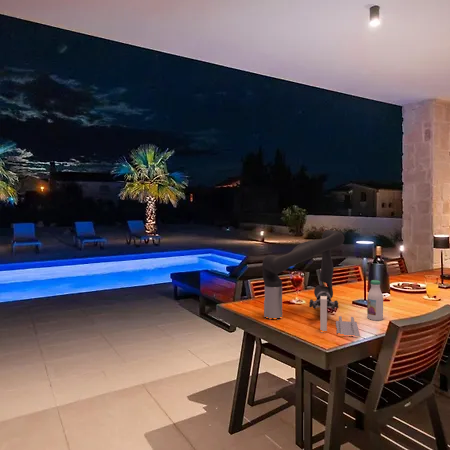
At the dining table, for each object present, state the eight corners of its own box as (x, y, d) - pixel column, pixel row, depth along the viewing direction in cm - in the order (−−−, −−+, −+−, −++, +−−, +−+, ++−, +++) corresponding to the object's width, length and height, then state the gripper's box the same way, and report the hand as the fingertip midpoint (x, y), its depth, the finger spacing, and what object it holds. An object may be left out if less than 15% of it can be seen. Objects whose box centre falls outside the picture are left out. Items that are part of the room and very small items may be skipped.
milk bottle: (379, 316, 213) (379, 279, 211) (385, 320, 205) (386, 282, 204) (364, 316, 212) (365, 279, 211) (370, 321, 205) (371, 282, 203)
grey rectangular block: (320, 332, 189) (320, 299, 188) (320, 328, 195) (320, 295, 194) (326, 332, 189) (326, 299, 187) (326, 328, 194) (326, 296, 193)
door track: (337, 336, 184) (337, 328, 183) (335, 322, 203) (335, 316, 203) (360, 337, 181) (360, 330, 181) (356, 324, 201) (356, 317, 200)
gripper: (310, 292, 216) (309, 299, 200) (337, 293, 213) (338, 300, 197) (310, 305, 217) (309, 314, 201) (337, 307, 213) (338, 315, 198)
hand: (323, 307), depth 199 cm, fingers open, 8 cm apart
